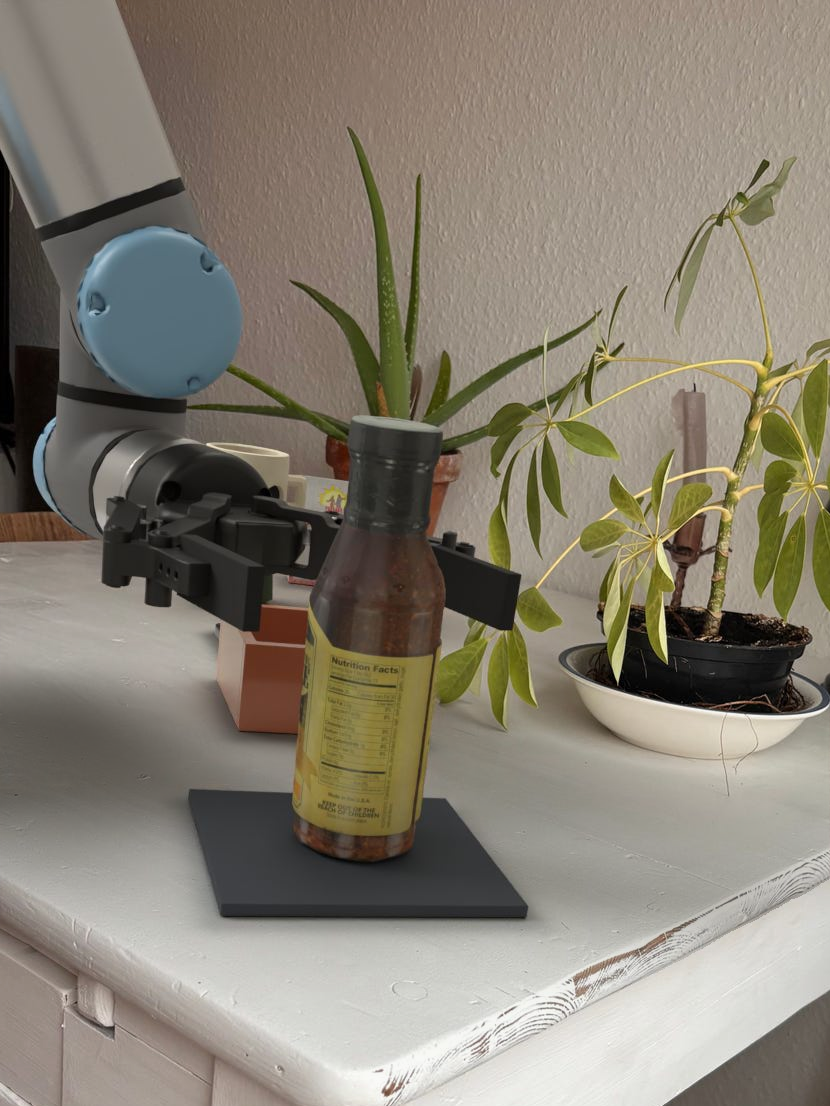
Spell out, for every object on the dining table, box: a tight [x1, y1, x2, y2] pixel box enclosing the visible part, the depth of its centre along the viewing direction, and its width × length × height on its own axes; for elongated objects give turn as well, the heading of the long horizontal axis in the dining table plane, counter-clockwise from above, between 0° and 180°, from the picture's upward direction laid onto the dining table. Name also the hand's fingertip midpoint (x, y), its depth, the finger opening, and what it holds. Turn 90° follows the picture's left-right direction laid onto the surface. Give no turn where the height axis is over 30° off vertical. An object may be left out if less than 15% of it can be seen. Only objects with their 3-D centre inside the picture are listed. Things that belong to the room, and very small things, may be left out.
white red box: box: [286, 474, 349, 587], centre depth 125 cm, size 4×7×10 cm, turn 99°
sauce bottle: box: [292, 414, 446, 862], centre depth 59 cm, size 6×6×20 cm
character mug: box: [205, 442, 307, 604], centre depth 111 cm, size 11×7×13 cm, turn 115°
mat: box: [188, 788, 529, 918], centre depth 63 cm, size 14×14×1 cm
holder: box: [215, 603, 308, 735], centre depth 85 cm, size 12×12×6 cm
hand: (392, 601), depth 57 cm, fingers open, 13 cm apart
